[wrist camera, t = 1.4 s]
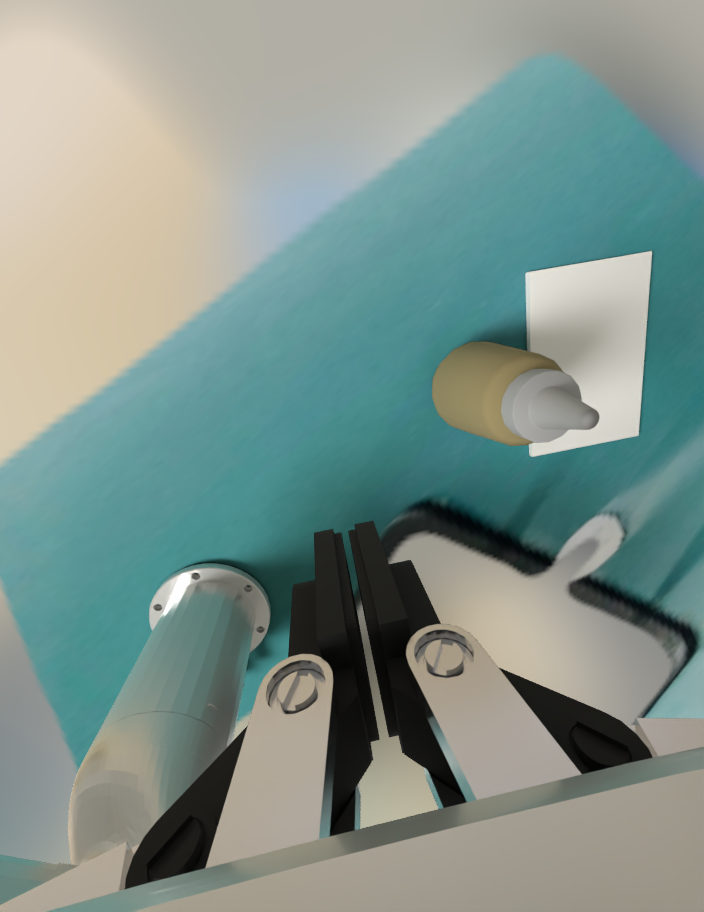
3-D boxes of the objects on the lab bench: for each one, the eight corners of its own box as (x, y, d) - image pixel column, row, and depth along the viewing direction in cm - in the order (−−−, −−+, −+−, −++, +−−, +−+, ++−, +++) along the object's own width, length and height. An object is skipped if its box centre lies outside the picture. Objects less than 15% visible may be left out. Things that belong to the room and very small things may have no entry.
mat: (633, 434, 41) (638, 435, 40) (529, 455, 40) (532, 456, 40) (646, 252, 35) (652, 251, 35) (525, 273, 35) (529, 271, 34)
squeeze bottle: (414, 351, 36) (510, 360, 19) (494, 332, 36) (662, 324, 19) (427, 431, 38) (523, 504, 21) (502, 412, 39) (657, 470, 21)
